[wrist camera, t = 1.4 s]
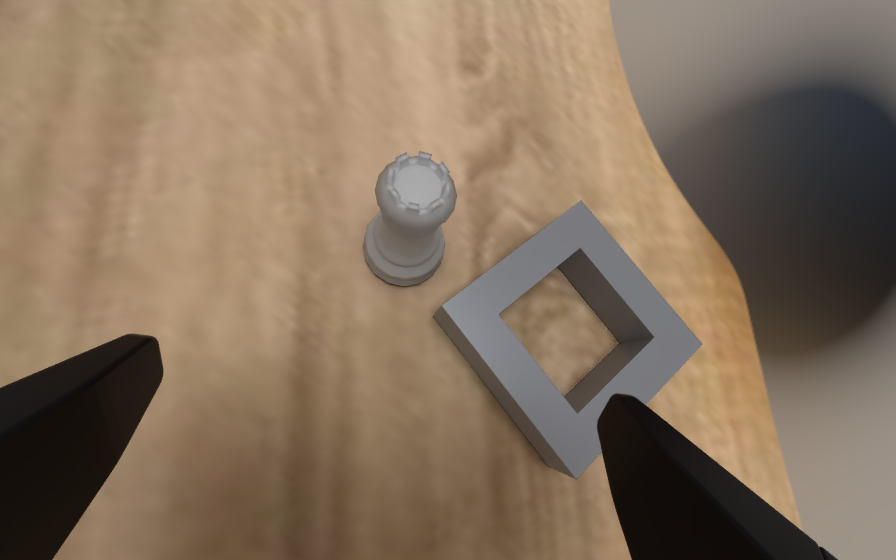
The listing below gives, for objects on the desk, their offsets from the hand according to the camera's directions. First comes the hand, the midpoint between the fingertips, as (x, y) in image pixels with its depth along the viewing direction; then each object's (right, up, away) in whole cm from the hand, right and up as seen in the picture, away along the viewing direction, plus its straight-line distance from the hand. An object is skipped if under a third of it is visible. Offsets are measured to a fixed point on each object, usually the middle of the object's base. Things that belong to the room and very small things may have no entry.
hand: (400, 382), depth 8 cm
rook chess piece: (-2, +4, +15) cm, 15 cm away
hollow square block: (+7, -1, +15) cm, 16 cm away
